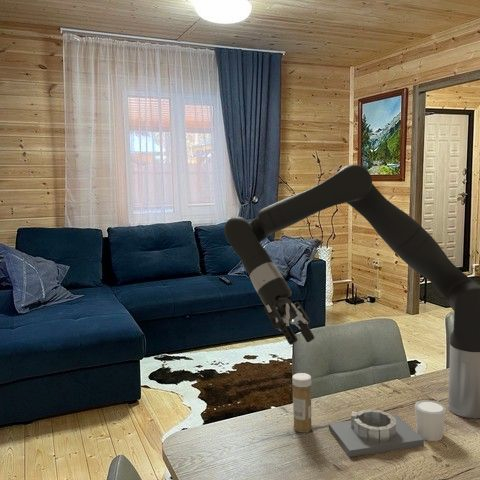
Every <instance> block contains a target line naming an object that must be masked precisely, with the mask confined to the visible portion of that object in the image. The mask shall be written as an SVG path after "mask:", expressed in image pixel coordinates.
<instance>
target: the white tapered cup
mask: <svg viewBox="0 0 480 480" xmlns="http://www.w3.org/2000/svg"><path fill="white" fill-rule="evenodd" d="M414 411H415V424H416V433H418V434H419V435H420V436H421V437H422V438H423V439H424V441H425V440H426V441H431V442H437V441H440V440H442V438H443V436H444V428H445V422H446V413H447V408H446V406H445V405H444V404H443V403H440V402H439V401H434V400H427V399H424V400H423V399H422V400H418V401H416V402H415V404H414Z"/></svg>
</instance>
